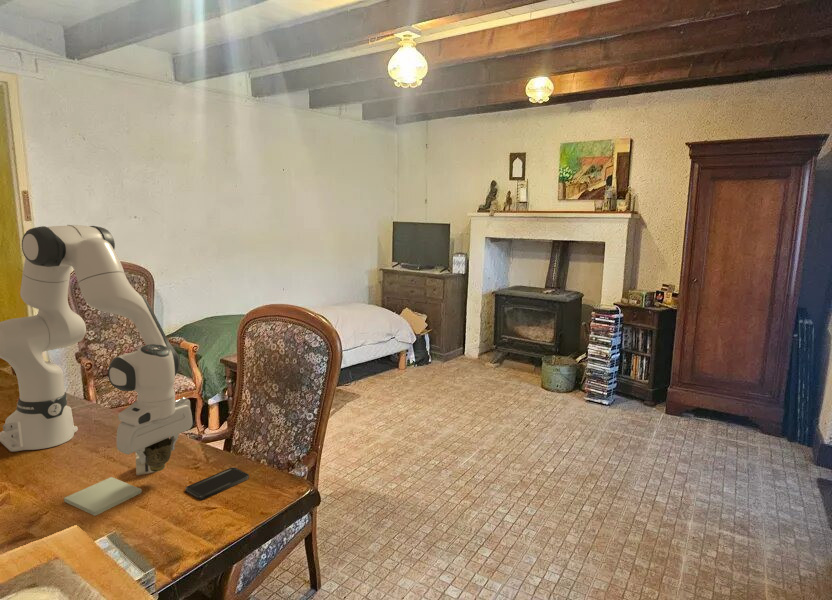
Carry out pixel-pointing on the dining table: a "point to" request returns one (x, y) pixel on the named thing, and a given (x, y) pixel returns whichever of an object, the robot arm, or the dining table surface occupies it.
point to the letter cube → (142, 467)
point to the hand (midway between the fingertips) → (157, 456)
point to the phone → (217, 483)
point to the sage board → (102, 496)
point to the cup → (158, 454)
